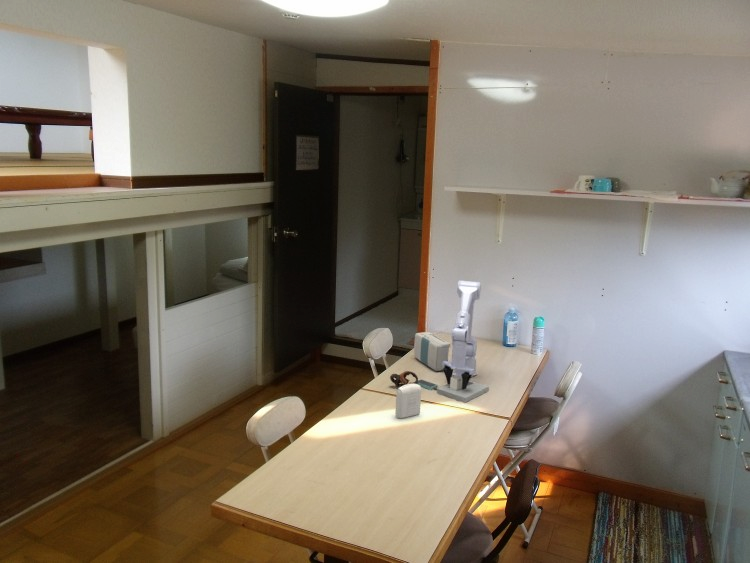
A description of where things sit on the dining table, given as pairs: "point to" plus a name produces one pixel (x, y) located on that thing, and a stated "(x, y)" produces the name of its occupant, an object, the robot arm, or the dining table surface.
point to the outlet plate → (464, 391)
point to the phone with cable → (427, 385)
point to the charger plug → (456, 383)
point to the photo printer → (408, 400)
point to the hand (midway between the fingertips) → (456, 386)
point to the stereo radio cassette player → (431, 350)
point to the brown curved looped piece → (403, 378)
